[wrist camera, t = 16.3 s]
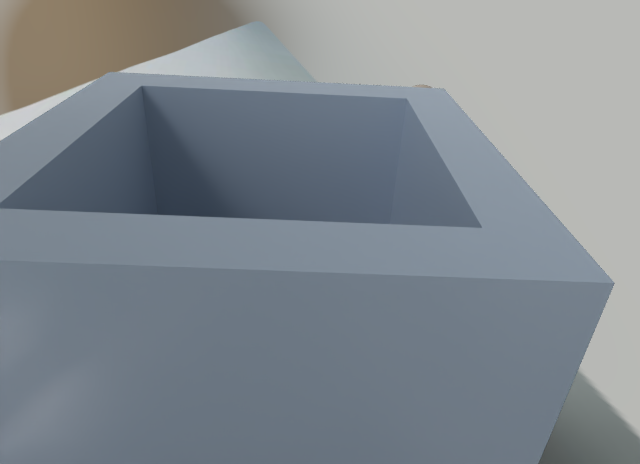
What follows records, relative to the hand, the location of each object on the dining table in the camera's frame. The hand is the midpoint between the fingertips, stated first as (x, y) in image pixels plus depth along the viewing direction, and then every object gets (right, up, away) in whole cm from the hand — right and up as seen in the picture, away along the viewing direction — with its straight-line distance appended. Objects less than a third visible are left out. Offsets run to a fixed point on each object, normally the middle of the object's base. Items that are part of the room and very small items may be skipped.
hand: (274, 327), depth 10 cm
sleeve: (0, -7, +1) cm, 7 cm away
